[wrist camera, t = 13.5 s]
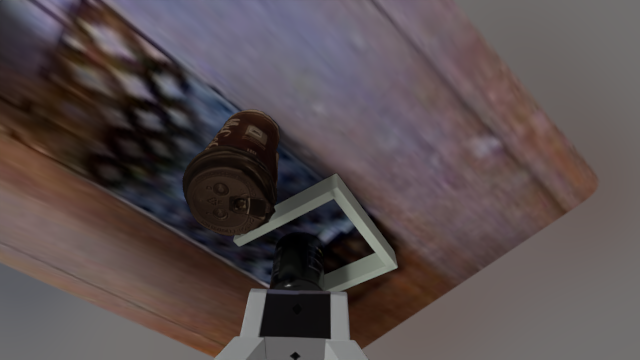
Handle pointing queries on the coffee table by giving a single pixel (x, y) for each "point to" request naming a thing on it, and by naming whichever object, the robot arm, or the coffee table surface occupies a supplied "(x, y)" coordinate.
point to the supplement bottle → (298, 263)
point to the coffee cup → (235, 176)
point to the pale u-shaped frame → (341, 194)
